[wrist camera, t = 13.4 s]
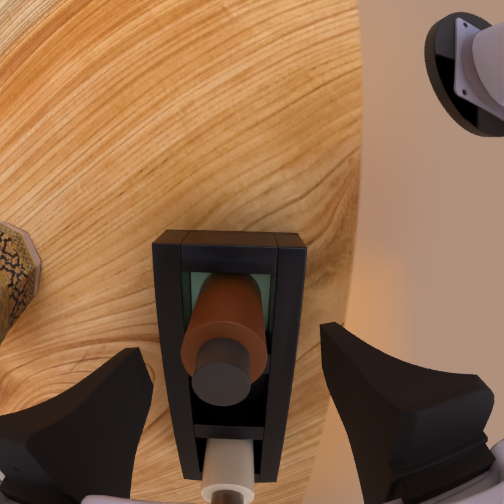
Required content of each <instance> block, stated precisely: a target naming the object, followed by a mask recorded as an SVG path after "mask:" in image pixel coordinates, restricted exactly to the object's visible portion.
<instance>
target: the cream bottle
mask: <svg viewBox="0 0 504 504" xmlns="http://www.w3.org/2000/svg"><path fill="white" fill-rule="evenodd" d="M200 494H201V497H202V498H203V499H204V500H205V501H207V502H209V503H210V504H248V503H250V502H252V501H253V500H254V498H255V482H254V444H253V440H237V439H214V438H207V441H206V449H205V457H204V466H203V474H202V483H201V492H200Z"/></svg>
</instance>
